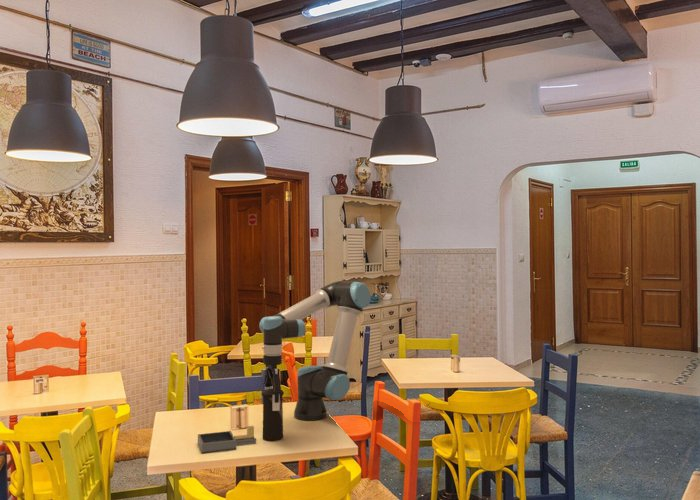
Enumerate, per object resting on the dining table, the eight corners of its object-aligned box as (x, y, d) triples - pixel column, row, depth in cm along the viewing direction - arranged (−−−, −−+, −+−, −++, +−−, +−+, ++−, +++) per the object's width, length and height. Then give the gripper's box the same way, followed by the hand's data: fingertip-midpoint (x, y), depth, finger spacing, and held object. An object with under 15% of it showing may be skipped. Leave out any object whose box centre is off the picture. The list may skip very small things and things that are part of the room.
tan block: (252, 438, 248) (252, 425, 248) (253, 439, 246) (253, 427, 246) (234, 440, 245) (234, 427, 245) (234, 441, 243) (234, 429, 243)
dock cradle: (230, 439, 250) (230, 430, 250) (236, 449, 238) (236, 440, 238) (197, 443, 246) (197, 434, 246) (201, 453, 233) (201, 444, 233)
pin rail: (253, 440, 249) (253, 435, 249) (256, 443, 245) (256, 438, 245) (233, 442, 246) (233, 437, 246) (235, 445, 242) (234, 441, 242)
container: (280, 442, 247) (279, 392, 247) (258, 440, 248) (258, 391, 248) (286, 435, 255) (286, 387, 255) (265, 434, 257) (265, 386, 257)
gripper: (257, 350, 262) (256, 400, 262) (270, 359, 239) (270, 414, 238) (274, 349, 265) (273, 398, 264) (289, 358, 241) (288, 413, 241)
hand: (272, 406), depth 251 cm, fingers open, 13 cm apart
